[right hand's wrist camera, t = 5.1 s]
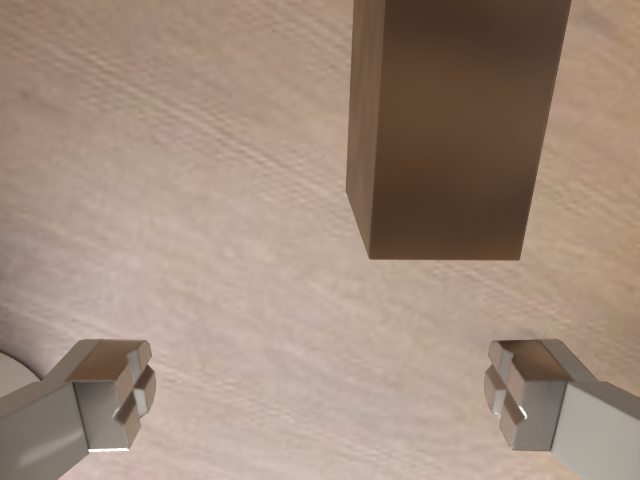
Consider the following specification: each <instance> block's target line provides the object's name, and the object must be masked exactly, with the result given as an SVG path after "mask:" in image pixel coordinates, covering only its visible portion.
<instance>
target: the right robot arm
mask: <svg viewBox="0 0 640 480" xmlns="http://www.w3.org/2000/svg"><path fill="white" fill-rule="evenodd" d="M151 357H152V353H151V348H150V344H149V343H148V342H147V341H146V340H117V339H105V340H103V339H84V340H80V341H78V342H77V343H76V344H75V345H74V346H73V348H72V349H71V350H70V351H69V352H68V353H67V354H66V355H65V356H64V357H63V358H62V359H61V360H60V362H59V363H58V364H57V365H56V366H55V367H54V368H53V369H52V370H51V371H50V372H49V373H48V374H47V376H46V377H45V378H44V379H43V380H42V381H40V380H39V379H38V378H37V377H36V376H35V375H34V374H33V373H32V372H31V371H30V370H29V369H28V368H26V367H25V366H24V365H22V364H21V363H19V362H18V361H16V360H15V359H13V358H11V357H9V356H7V355H5V354H3V353H1V352H0V480H57V479H59V478H60V477H61V476H62V475H63V474H65V473H66V472H67V471H68V470H70V469H71V468H72V467H73V466H74V465H76V464H77V463H78V462H79V461H81V460H82V459H83V458H84V457H85V456H87V455H88V454H89V451H119V450H129V449H130V447H131V445H132V443H133V441H134V439H135V437H136V435H137V433H138V431H139V430H140V428H141V425H140V419H139V418H141V417H142V416H144V415H145V414H147V413H148V412H149V410H150V408H151V406H152V404H153V400H154V396H155V391H156V378H155V372H154V371H153V370H152V369H151V368H150V366H149V365H148V364H147V363H148V362H149V360H150V358H151ZM488 357H489V358H490V360H491V362H492V363H493V364H492V365H491V366H490V368H489V369H488V370H487V371H486V372H485V380H484V389H485V397H486V400H487V404H488V406H489V408H490V410H491V412H492V413H493V414H495V415H496V416H498V417H499V418H501V420H500V425H499V428H500V429H501V431H502V433H503V435H504V437H505V439H506V441H507V443H508V445H509V447H510V449H511V450H520V451H551V454H552V455H554V456H555V457H556V458H557V459H558V460H560V461H561V462H562V463H563V464H565V465H566V466H567V467H568V468H569V469H571V470H572V471H573V472H574V473H575V474H577V475H578V476H579V477H580V478H582V479H583V480H640V398H639V397H637V396H635V395H633V394H631V393H629V392H627V391H624V390H622V389H620V388H618V387H616V386H614V385H612V384H610V383H608V382H599V381H598V380H597V379H596V378H595V377H594V376H593V374H592V373H591V372H590V371H589V370H588V369H587V368H586V367H585V366H584V365H583V364H582V363H581V361H580V360H579V359H578V358H577V357H576V356H575V355H574V354H573V353H572V352H571V351H570V350H569V349H568V347H567V346H566V345H565V344H564V343H563V342H562V341H560V340H558V339H538V340H505V341H492V343H491V345H490V347H489V353H488Z"/></svg>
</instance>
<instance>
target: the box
mask: <svg viewBox="0 0 640 480" xmlns="http://www.w3.org/2000/svg"><path fill="white" fill-rule="evenodd" d="M570 5H571V0H354V9H353V33H352V56H351V80H350V104H349V127H348V151H347V175H346V193H347V196H348V199H349V202H350V204H351V207H352V210H353V213H354V216H355V219H356V222H357V225H358V228H359V231H360V234H361V236H362V239H363V242H364V245H365V248H366V251H367V254H368V257H369V259H371V260H519V259H520V255H521V250H522V245H523V240H524V235H525V230H526V225H527V220H528V215H529V210H530V205H531V200H532V195H533V190H534V185H535V180H536V175H537V170H538V165H539V160H540V155H541V150H542V145H543V140H544V135H545V130H546V125H547V120H548V115H549V110H550V105H551V100H552V95H553V90H554V85H555V80H556V75H557V70H558V65H559V60H560V55H561V50H562V45H563V40H564V35H565V30H566V25H567V20H568V15H569V10H570Z"/></svg>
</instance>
